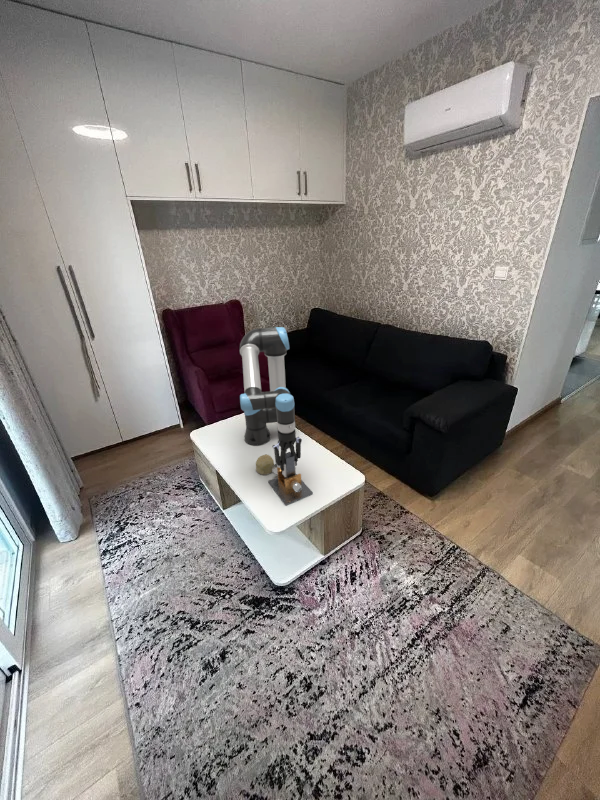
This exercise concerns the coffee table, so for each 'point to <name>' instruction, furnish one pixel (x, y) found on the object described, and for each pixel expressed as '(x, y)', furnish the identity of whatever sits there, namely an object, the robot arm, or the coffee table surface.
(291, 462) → the dark gray rectangular block
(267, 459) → the decorative object
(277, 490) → the multicoloured piece
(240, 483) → the coffee table surface
